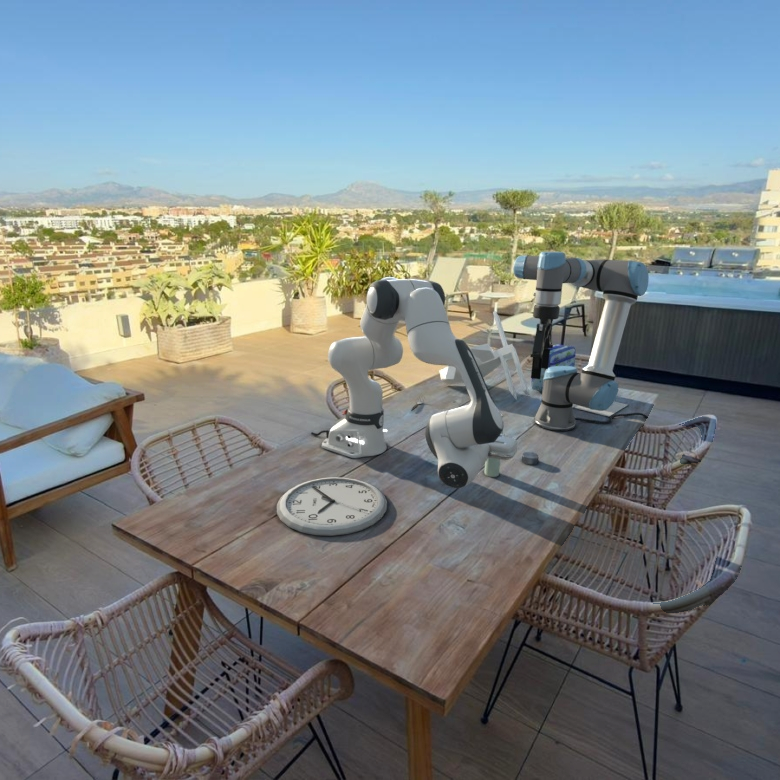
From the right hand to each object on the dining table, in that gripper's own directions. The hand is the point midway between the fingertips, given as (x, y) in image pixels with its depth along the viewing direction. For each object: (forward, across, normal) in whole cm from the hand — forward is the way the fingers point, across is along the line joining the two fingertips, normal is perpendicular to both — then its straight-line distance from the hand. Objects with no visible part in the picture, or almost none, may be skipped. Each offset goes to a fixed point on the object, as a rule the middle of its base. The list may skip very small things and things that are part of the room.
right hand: (539, 373), depth 163 cm
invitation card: (+30, -70, +16) cm, 78 cm away
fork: (+30, -33, -54) cm, 70 cm away
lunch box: (+30, -87, -7) cm, 92 cm away
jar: (+30, +15, -9) cm, 35 cm away
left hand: (+12, +28, -9) cm, 32 cm away
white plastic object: (+30, -65, -36) cm, 80 cm away
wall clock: (+30, +54, -43) cm, 75 cm away
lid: (+28, 0, 0) cm, 28 cm away
